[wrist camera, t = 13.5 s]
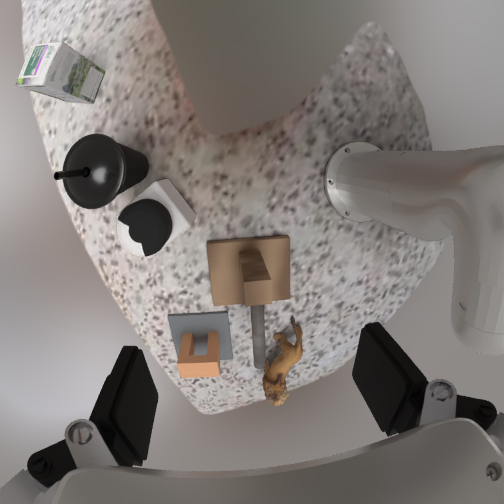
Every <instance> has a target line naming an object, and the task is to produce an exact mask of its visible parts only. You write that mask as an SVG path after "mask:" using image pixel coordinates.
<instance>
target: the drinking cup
mask: <svg viewBox="0 0 504 504" xmlns="http://www.w3.org/2000/svg"><path fill="white" fill-rule="evenodd" d="M148 169H149V164H148V160H147V158H146V157H145V156H144V155H143V154H142V153H140V152H138V151H135V150H133V149H131V148H128V147H126V146H124V145H121V144H119V143H117V142H116V141H115V140H113V139H112V138H110V137H109V136H106V135H103V134H91V135H87V136H85V137H83V138H81V139H80V140H78V141H77V142H76V143H75V144H74V145H73V146H72V147H71V149H70V150H69V152H68V154H67V156H66V158H65V161H64V165H63V171H58V172H55V174H54V179H55V180H60V179H63V183H64V187H65V190H66V192H67V194H68V196H69V197H70V198H71V200H72V201H73V202H74V203H76V204H77V205H79V206H81V207H83V208H86V209H97V208H101V207H103V206H105V205H107V204H109V203H110V202H111V201H112V200H114V199H115V197H116V196H117V195H119V194H120V193H122V192H124V191H125V190H127V189H129V188H130V187H132V186H134V185H135V184H137V183H139V182H141V181H142V180H143V179H144V178H145V177H146V175H147V173H148Z"/></svg>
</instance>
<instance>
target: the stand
mask: <svg viewBox="0 0 504 504" xmlns="http://www.w3.org/2000/svg"><path fill="white" fill-rule="evenodd" d="M207 253H208V262H209V271H210V280H211V288H212V296H213V304H214V306H220V305H233V304H245V306H251V322H252V338H253V354H254V366H255V367H256V368H258V369H262V368H264V367H265V366H266V359H265V327H264V305H265V304H272V301H277V300H286V299H290V237H289V236H288V235H286V236H271V237H257V238H244V239H231V240H218V241H207Z"/></svg>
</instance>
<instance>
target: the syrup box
mask: <svg viewBox="0 0 504 504" xmlns="http://www.w3.org/2000/svg"><path fill="white" fill-rule="evenodd" d="M104 73H105V72H104V71H103V70H102V69H100V68H99V67H98V66H96V65H95V64H94V63H92V62H91V61H89V60H88V59H87V58H85V57H84V56H83V55H81V54H80V53H78V52H77V51H76V50H74V49H73V48H71V47H70V46H68V45H67V44H65V43H64V42H55V43H44V44H37V45H32V47H31V49H30V51H29V53H28V56H27V58H26V60H25V63H24V65H23V68H22V70H21V73H20V75H19V78H18V81H17V83H16V86H17V87H20V88H24V89H27V90H31V91H34V92H38V93H41V94H44V95H48V96H51V97H54V98H57V99H60V100H63V101H66V102H79V103H89V104H93V103H94V100H95V97H96V94H97V91H98V89H99V86H100V83H101V81H102V78H103V76H104Z"/></svg>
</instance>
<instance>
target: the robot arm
mask: <svg viewBox="0 0 504 504" xmlns="http://www.w3.org/2000/svg"><path fill="white" fill-rule="evenodd" d="M345 149H346V152H345ZM329 180H330V183H329ZM324 185H325V192H326V195H327V198H328V200H329V202H330V204H331V205H332V207H333V208H334V209H335V210H336V211H337V212H338V213H339V214H340V215H341V216H343V217H345V218H347V219H349V220H352V221H356V222H367V221H370V220H373V219H375V220H377V221H379V222H382V223H384V224H386V225H388V226H391V227H393V228H395V229H397V230H400V231H402V232H404V233H406V234H409V235H411V236H413V237H415V238H417V239H420V240H423V241H439V240H442V239H444V238H446V237H448V236H450V235H452V234H453V241H454V278H453V279H454V280H453V291H452V303H451V324H452V329H453V332H454V334H455V336H456V338H457V339H458V340H459V342H460V343H461V344H462V345H464V346H465V347H466V348H468V349H469V350H471V351H474V352H476V353H480V354H485V355H504V146H503V145H501V146H499V145H498V146H488V147H481V148H474V149H467V150H457V151H382V150H381V149H379V148H378V147H376V146H375V145H373V144H370V143H366V142H352V143H349V144H346V145H344V146H342V147H340V148H339V149H338V150H337V151H336V152H335V153H334V154H333V155H332V157H331V158H330V160H329V162H328V164H327V167H326V170H325V175H324ZM345 212H346V213H345ZM352 376H353V379H354V381H355V383H356V385H357V387H358V389H359V390H360V392H361V394H362V396H363V397H364V400H365V401H366V403H367V405H368V407H369V409H370V411H371V412H372V414H373V416H374V418H375V420H376V422H377V423H378V425H379V427H380V429H381V431H382V432H386V434H387V436H388V437H389V436H391V435H394V434H396V433H399V434H398V435H395V436H393V437H390V438H387V439H384V440H381V441H379V442H376V443H373V444H370V445H367V446H364V447H361V448H357V449H354V450H351V451H347V452H344V453H340V454H336V455H332V456H328V457H324V458H320V459H315V460H310V461H305V462H301V463H295V464H289V465H283V466H276V467H268V468H260V469H249V470H235V471H208V472H207V471H200V472H199V471H172V470H156V469H145V468H136V467H132V466H133V465H137V466H142V463H143V460H146V459H147V455H148V449H149V444H150V438H151V433H152V428H153V422H154V417H155V412H156V407H157V403H158V392H157V390H156V387H155V384H154V382H153V379H152V377H151V374H150V371H149V368H148V366H147V363H146V360H145V357H144V354H143V351H142V350H141V349H138V347H137V346H123V348H122V350H121V352H120V354H119V356H118V358H117V360H116V363H115V365H114V367H113V369H112V372H111V374H110V375H108V376H107V378H106V380H105V382H104V385H103V387H102V389H101V392H100V394H99V396H98V399H97V401H96V403H95V406H94V408H93V411H92V413H91V416H90V418H89V420H86V419H78V420H75V421H73V422H71V423H70V424H69V425H68V426H67V428H66V430H65V439H64V440H62V441H60V442H58V443H56V444H53V445H51V446H49V447H47V448H45V449H42V450H40V451H38V452H36V453H34V454H32V455H31V457H30V458H29V460H28V463H27V467H28V469H27V470H26V471H25V470H24V469H22V470H21V471H20V472H19V473H18V474H17V475H15V476H14V477H13V478H12V479H11V480H10V481H9V482H7V483H6V484H5V485H4V486H3V487H1V489H0V504H504V413H501V412H500V413H499V414H497V410H496V408H495V406H494V405H493V404H492V403H491V402H489V401H486V400H482V399H476V398H471V397H466V396H460V395H457V392H456V388H455V387H454V385H453V384H452V383H451V382H449V381H447V380H444V379H436V380H433V381H431V382H430V383H429V382H428V381H427V380H426V377H425V376H424V375H423V373H422V372H421V371H420V370H419V369H418V367H417V366H416V365H415V364H414V363H413V361H412V360H411V359H410V358H409V357H408V355H407V354H406V353H405V352H404V351H403V349H402V348H401V347H400V346H399V345H398V344H397V342H396V341H395V340H394V339H393V338H392V337H391V336H390V334H389V333H388V332H387V331H386V330H385V329H384V328H383V326H382V325H381V324H380V323H379V322H374V323H369V324H366V325H365V327H364V328H362V330H361V334H360V339H359V344H358V349H357V354H356V358H355V363H354V367H353V371H352Z"/></svg>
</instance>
